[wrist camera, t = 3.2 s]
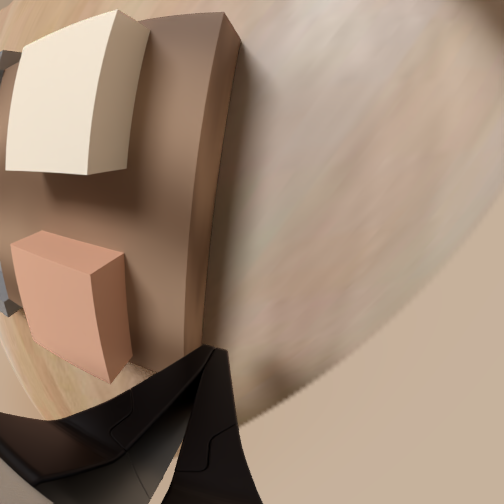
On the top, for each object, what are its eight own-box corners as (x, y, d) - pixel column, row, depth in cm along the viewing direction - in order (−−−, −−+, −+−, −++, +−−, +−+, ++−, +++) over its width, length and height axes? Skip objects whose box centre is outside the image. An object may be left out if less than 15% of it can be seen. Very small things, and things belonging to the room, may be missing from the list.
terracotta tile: (132, 355, 11) (110, 384, 9) (57, 321, 12) (33, 341, 10) (124, 252, 9) (89, 274, 7) (42, 230, 10) (10, 244, 8)
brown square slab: (200, 347, 13) (183, 381, 11) (32, 283, 15) (8, 298, 12) (240, 39, 8) (224, 12, 6) (33, 72, 10) (4, 69, 7)
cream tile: (126, 168, 8) (87, 175, 6) (40, 163, 9) (5, 170, 7) (150, 29, 6) (117, 9, 5) (56, 53, 7) (23, 47, 5)
